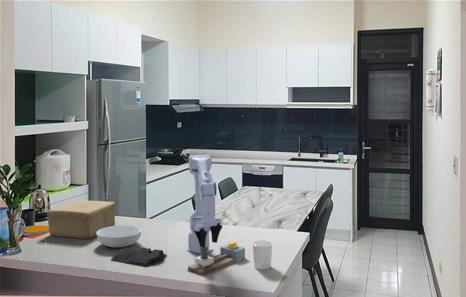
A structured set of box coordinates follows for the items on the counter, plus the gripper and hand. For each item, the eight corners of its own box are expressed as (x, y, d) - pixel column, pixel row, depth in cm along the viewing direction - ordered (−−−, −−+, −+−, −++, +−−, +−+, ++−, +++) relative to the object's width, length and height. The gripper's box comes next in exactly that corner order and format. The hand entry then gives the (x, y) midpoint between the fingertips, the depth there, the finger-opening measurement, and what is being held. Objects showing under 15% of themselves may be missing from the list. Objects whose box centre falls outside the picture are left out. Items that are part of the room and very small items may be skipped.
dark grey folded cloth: (129, 251, 218) (128, 241, 217) (170, 257, 209) (169, 246, 209) (107, 261, 204) (107, 251, 203) (150, 268, 195) (150, 257, 195)
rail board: (187, 270, 192) (187, 264, 192) (220, 257, 207) (220, 251, 207) (203, 275, 186) (203, 269, 186) (236, 261, 202) (236, 255, 201)
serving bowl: (131, 253, 214) (130, 238, 213) (88, 250, 218) (88, 236, 217) (148, 239, 234) (148, 225, 233) (109, 237, 238) (108, 224, 238)
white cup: (270, 263, 199) (270, 240, 198) (273, 270, 191) (273, 246, 190) (252, 263, 199) (252, 240, 198) (253, 270, 191) (253, 246, 190)
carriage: (194, 265, 193) (194, 247, 192) (203, 261, 197) (202, 244, 196) (205, 268, 189) (205, 250, 188) (213, 264, 193) (213, 247, 192)
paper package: (77, 222, 267) (76, 198, 265) (118, 226, 259) (117, 201, 258) (45, 236, 241) (44, 209, 239) (89, 240, 233) (88, 213, 232)
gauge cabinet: (220, 257, 207) (220, 247, 207) (229, 253, 212) (229, 243, 211) (236, 261, 202) (236, 251, 201) (244, 257, 206) (244, 247, 206)
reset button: (226, 252, 206) (226, 243, 206) (232, 250, 209) (232, 241, 208) (233, 253, 204) (233, 244, 203) (238, 251, 207) (238, 242, 206)
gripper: (203, 216, 182) (204, 251, 184) (227, 209, 194) (227, 241, 195) (190, 214, 186) (191, 247, 188) (213, 207, 198) (214, 239, 199)
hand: (208, 244), depth 192 cm, fingers open, 7 cm apart
